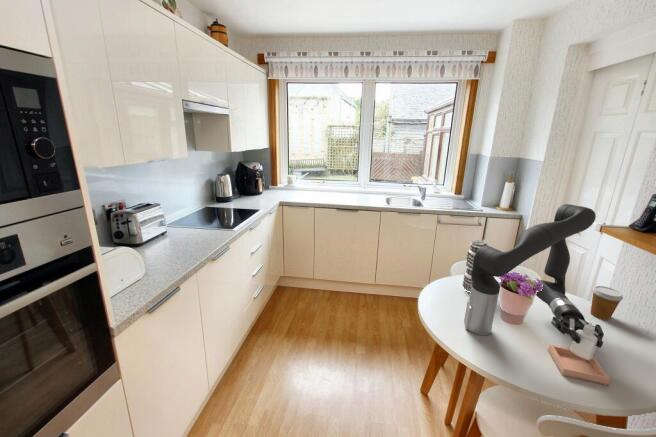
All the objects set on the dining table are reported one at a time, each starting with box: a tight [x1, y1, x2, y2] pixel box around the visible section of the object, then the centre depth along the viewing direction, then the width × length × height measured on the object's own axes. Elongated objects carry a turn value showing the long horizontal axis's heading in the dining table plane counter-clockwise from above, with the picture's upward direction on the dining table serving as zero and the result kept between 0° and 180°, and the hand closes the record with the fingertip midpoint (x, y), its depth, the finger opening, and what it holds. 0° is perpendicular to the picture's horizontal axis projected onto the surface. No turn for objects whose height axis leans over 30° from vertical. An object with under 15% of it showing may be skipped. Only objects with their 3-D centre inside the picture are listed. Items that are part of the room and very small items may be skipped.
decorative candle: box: [462, 240, 489, 292], centre depth 140 cm, size 9×9×25 cm
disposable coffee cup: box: [590, 285, 624, 321], centre depth 124 cm, size 10×10×12 cm
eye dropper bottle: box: [569, 322, 598, 360], centre depth 94 cm, size 4×6×12 cm
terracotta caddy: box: [547, 343, 611, 386], centre depth 97 cm, size 12×12×2 cm
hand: (589, 343), depth 92 cm, fingers closed on eye dropper bottle, 5 cm apart
